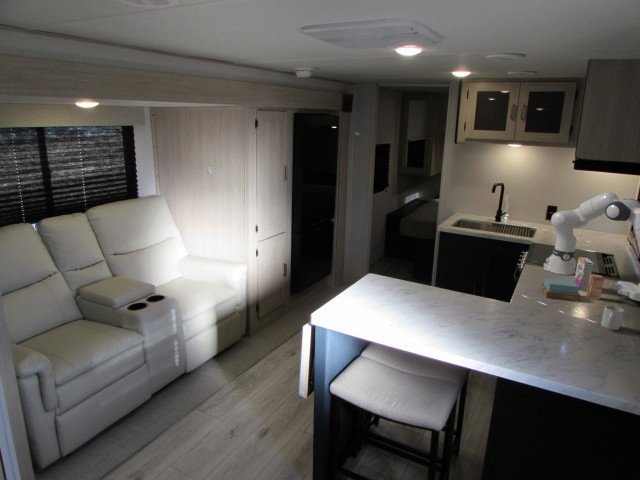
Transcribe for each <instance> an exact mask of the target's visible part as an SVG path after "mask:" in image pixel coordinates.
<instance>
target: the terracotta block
mask: <svg viewBox="0 0 640 480" xmlns="http://www.w3.org/2000/svg"><path fill="white" fill-rule="evenodd" d="M604 280H605V278H604V276H602V275H599V274H592V275H591V274H590V278H589V283H588V288H587V291H586V294H585V296H586V298H587V299H589V300H594V301H596V300H597V301H600V300H601V295H602V291H603V285H604Z"/></svg>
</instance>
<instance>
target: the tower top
mask: <svg viewBox="0 0 640 480" xmlns="http://www.w3.org/2000/svg"><path fill="white" fill-rule="evenodd" d="M543 284H544V286H545V287H546V288H547V289H548V290H549V291H553V292H562V293H571V294H578V293H579V286H578V285H577V284H576V283H575V282H574V280H569V279H568V280H567V279H559V278H551V277H550V278H549V277H545V278H544V283H543Z"/></svg>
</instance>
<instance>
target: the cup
mask: <svg viewBox="0 0 640 480" xmlns="http://www.w3.org/2000/svg"><path fill="white" fill-rule="evenodd" d="M624 311H625V310H624V309H623V308H622V307H619V306H617V305H609V304H606V305H604V308H603V313H602V318H601V323H600V324H601V327H603V328H605V329H607V330H612V331H618V330H619V329H620V328H621V324H622V319H623V315H624Z"/></svg>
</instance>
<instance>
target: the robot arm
mask: <svg viewBox="0 0 640 480" xmlns="http://www.w3.org/2000/svg"><path fill="white" fill-rule="evenodd" d="M602 215H605V216H606V217H607V218H608V219H609V220H612V221H616V222H628V221H629V222H630V223H631V224H632V227H633V231H634V234H635V238H636V241H637V250H638V254H639V257H640V200H638V199H633V198H623V199H620V198H619V196H617V194H616V193H614V192H612V191H611V192H610V191H607V192H603V193H600V194H598V195H595V196H593V197H591V198H589V199H588V200H585V201H583V202H582V203H580V204H579V207H577V208H575V209H571V210H570V209H569V210H560V211H556V212H554V213H553V214H552V215H551V219H550V222H551V225H552V226H553V227H554V229H555V234H556V238H555V244H554V245H555V246H554V248H553V250H552V254H551V255H550V256H549V257H548V258H547V257H546V259H545V263H543V269H544V271H547V272H551V273H553V274H556V275H557V274H558V275H562V276H563V275H565V276H566V275H567V276H572V275H576V267H577V260H576V258H575V256H576V251H575V250H576V245H577V238H576V236H575V235H574V229H580V228H582V227H586V226H587V225H588V224H589V222H591V221H592V220H594V219H596V218H598V217H600V216H602ZM609 285H610V286H609V287H610V288H612V289H614V288H616V289H617V292H616V293H617V294H618V295H623V296H627V297H628V298H629V299H630V300H634V301H637V302H640V282H639V283H637V284H635V283H633V282H629V281H625V280H624V281H623V280H618V281H617V282H616V283H610V284H609Z"/></svg>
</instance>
